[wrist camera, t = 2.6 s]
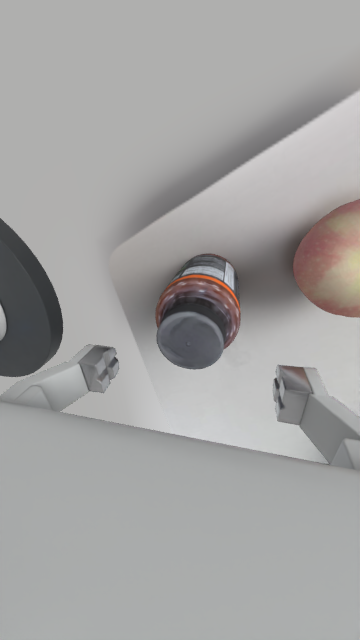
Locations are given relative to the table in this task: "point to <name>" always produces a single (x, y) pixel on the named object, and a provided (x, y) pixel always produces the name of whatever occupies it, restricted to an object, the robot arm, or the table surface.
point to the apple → (332, 262)
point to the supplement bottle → (199, 312)
